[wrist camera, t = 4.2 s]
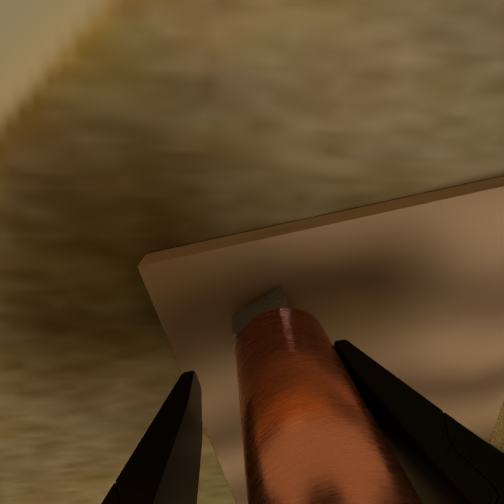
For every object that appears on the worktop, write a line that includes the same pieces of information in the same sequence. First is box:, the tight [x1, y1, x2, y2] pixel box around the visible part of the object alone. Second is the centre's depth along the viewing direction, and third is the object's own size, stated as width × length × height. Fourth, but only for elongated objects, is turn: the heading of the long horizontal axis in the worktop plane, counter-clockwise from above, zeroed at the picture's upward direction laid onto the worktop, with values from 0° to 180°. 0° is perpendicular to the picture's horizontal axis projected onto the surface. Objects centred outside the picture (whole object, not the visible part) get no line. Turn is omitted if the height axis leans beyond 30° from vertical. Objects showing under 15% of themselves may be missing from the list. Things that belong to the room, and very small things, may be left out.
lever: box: [231, 286, 423, 504], centre depth 10 cm, size 15×4×8 cm, turn 31°
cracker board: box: [137, 176, 504, 504], centre depth 14 cm, size 22×18×4 cm
